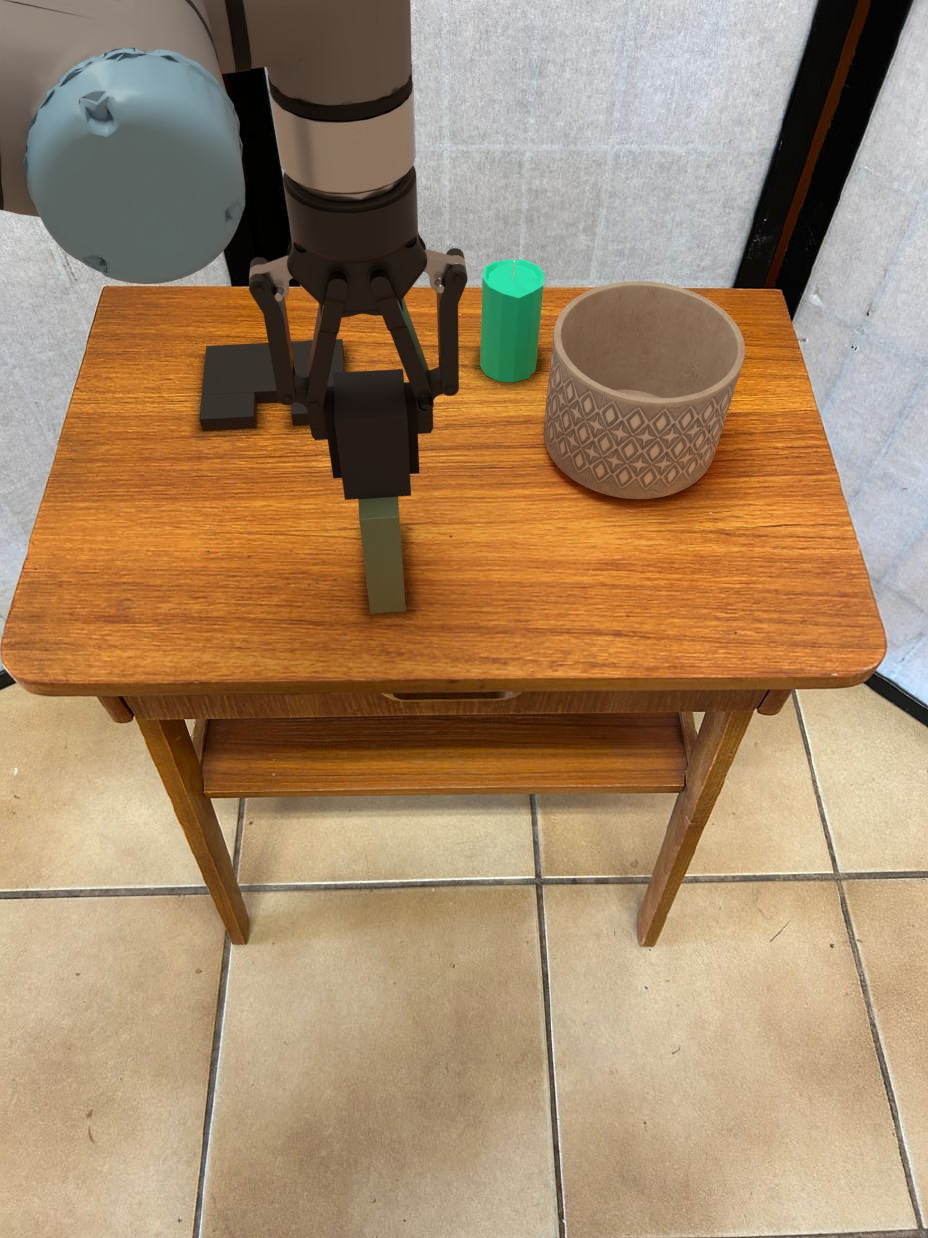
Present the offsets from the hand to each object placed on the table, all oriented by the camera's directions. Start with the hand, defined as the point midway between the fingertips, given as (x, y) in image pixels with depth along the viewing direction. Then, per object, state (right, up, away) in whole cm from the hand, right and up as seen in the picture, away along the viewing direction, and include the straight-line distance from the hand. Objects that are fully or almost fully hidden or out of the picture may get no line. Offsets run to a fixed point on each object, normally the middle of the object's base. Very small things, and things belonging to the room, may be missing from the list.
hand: (375, 462), depth 72 cm
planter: (+22, +5, +20) cm, 31 cm away
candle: (+11, +15, +27) cm, 33 cm away
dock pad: (-12, +11, +24) cm, 30 cm away
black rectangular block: (0, 0, +2) cm, 2 cm away
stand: (0, -8, +11) cm, 13 cm away
